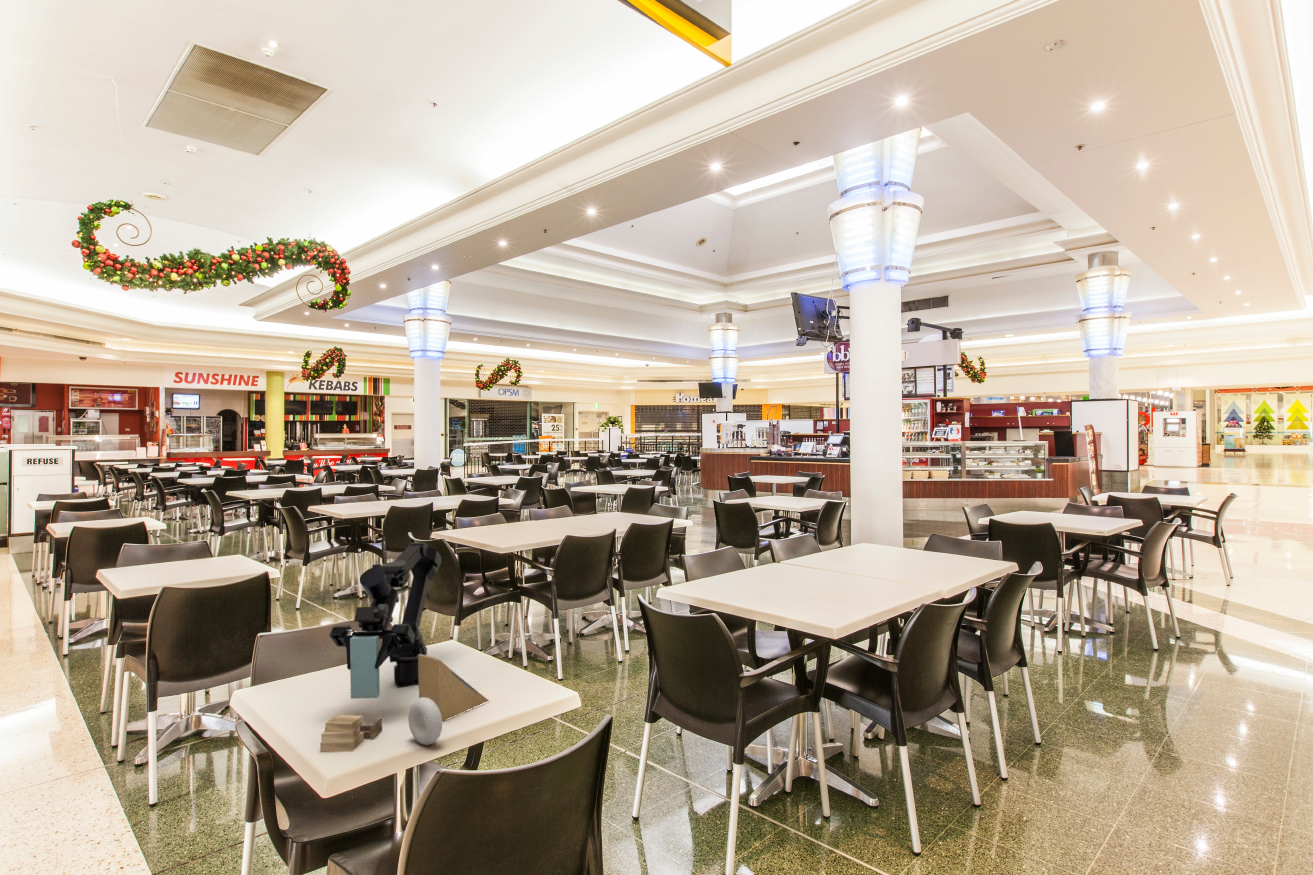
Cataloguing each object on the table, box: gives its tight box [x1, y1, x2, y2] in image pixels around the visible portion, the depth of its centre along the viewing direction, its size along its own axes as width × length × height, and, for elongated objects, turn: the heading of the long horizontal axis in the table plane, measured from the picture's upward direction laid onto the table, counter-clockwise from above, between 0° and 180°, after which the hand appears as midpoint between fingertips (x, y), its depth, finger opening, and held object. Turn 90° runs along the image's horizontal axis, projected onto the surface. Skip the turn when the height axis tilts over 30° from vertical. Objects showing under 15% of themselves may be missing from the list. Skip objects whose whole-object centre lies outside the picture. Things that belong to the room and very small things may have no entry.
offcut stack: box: [319, 714, 365, 753], centre depth 138 cm, size 5×7×6 cm
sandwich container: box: [418, 654, 490, 722], centre depth 158 cm, size 9×15×15 cm, turn 144°
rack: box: [324, 716, 383, 740], centre depth 143 cm, size 4×11×3 cm, turn 91°
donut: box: [407, 697, 443, 746], centre depth 139 cm, size 10×4×10 cm, turn 54°
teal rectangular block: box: [349, 636, 381, 700], centre depth 149 cm, size 2×6×14 cm, turn 91°
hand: (362, 668), depth 148 cm, fingers closed on teal rectangular block, 6 cm apart
